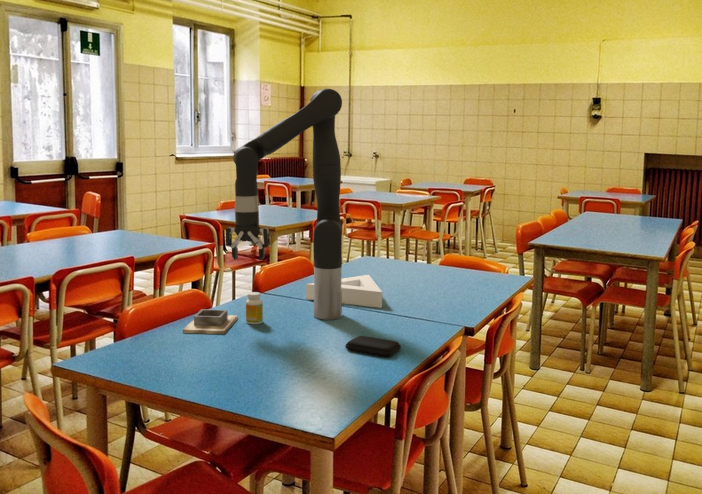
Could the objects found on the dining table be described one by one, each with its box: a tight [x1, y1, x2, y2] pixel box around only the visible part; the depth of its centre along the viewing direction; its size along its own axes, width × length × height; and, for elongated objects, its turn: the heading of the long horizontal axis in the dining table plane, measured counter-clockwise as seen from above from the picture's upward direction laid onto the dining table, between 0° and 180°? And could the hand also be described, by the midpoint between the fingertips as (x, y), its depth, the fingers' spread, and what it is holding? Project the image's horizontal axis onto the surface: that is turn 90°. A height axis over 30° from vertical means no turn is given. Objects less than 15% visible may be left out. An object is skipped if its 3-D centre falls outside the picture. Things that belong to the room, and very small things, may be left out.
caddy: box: [182, 308, 238, 335], centre depth 222 cm, size 13×18×4 cm
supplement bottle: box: [245, 291, 264, 325], centre depth 225 cm, size 5×5×10 cm
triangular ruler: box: [305, 274, 383, 309], centre depth 264 cm, size 30×26×6 cm
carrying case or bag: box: [344, 335, 402, 358], centre depth 199 cm, size 11×3×15 cm
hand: (248, 259), depth 224 cm, fingers open, 8 cm apart
